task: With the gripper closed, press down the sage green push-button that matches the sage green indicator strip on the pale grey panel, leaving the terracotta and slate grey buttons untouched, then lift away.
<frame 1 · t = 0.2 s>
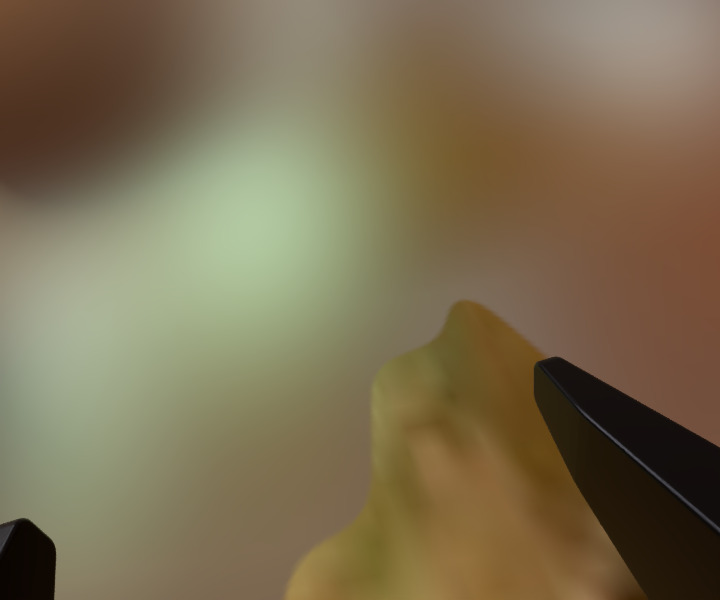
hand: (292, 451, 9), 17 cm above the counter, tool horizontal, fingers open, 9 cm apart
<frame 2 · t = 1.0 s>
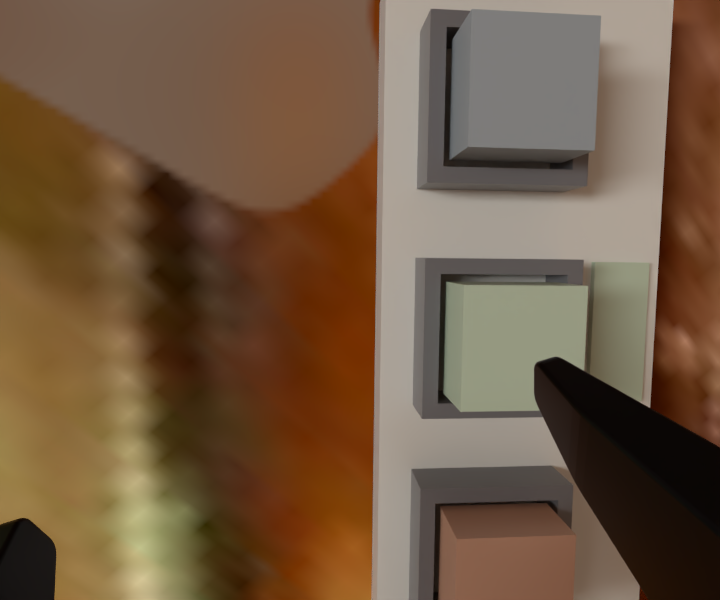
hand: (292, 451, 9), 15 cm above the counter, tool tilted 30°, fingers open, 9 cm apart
slate button: (520, 92, 19), point 5 cm above the counter, slide at 0.0 cm
sage button: (511, 342, 20), point 5 cm above the counter, slide at 0.0 cm
button panel: (504, 325, 25), on the counter
terracotta button: (502, 574, 20), point 5 cm above the counter, slide at 0.0 cm
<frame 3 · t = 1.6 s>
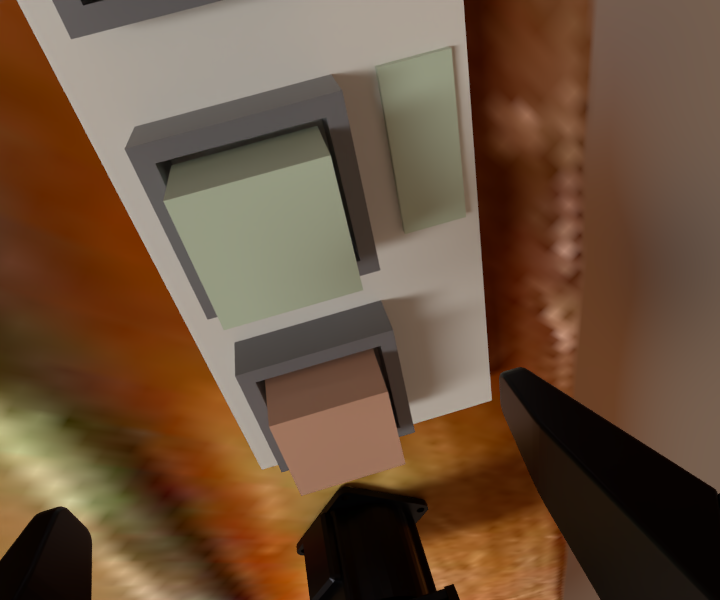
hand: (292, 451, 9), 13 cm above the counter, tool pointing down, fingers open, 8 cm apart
sage button: (269, 229, 16), point 5 cm above the counter, slide at 0.0 cm
button panel: (300, 158, 20), on the counter
terracotta button: (336, 422, 21), point 5 cm above the counter, slide at 0.0 cm
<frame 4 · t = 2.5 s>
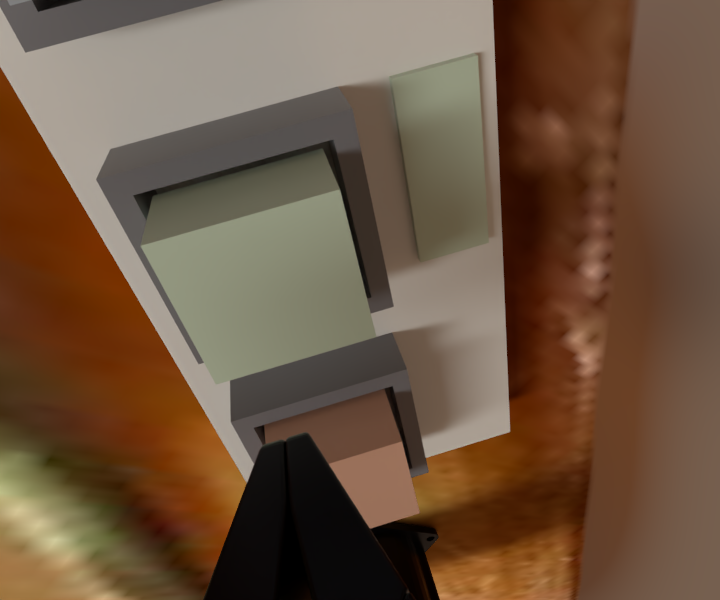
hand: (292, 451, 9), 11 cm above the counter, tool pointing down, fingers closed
sage button: (268, 268, 14), point 5 cm above the counter, slide at 0.0 cm
button panel: (301, 178, 18), on the counter
terracotta button: (343, 468, 19), point 5 cm above the counter, slide at 0.0 cm
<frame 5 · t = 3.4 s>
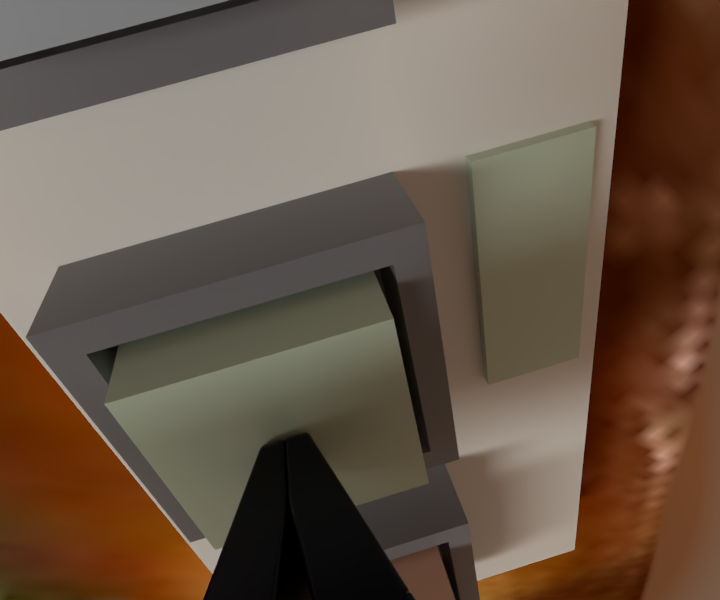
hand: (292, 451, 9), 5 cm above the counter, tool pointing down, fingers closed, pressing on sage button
sage button: (285, 397, 10), point 4 cm above the counter, slide at 1.2 cm, touching gripper
button panel: (330, 273, 13), on the counter
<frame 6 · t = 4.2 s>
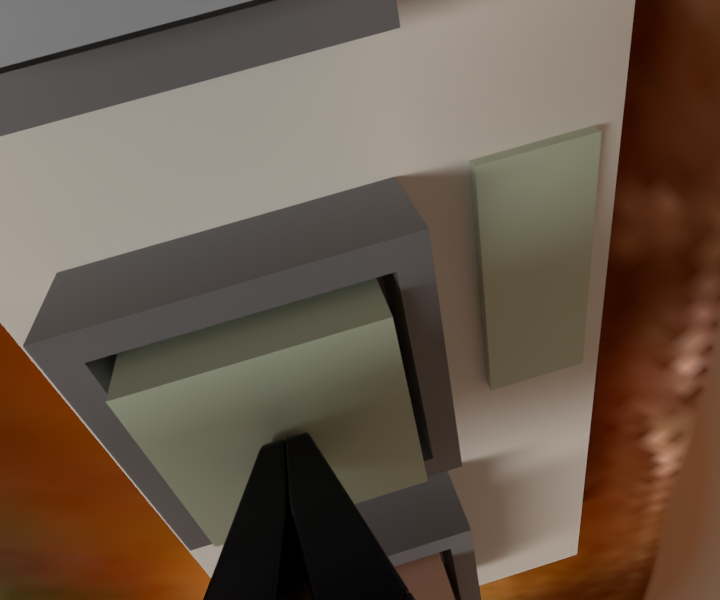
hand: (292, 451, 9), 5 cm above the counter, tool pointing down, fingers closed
sage button: (285, 395, 10), point 3 cm above the counter, slide at 1.4 cm
button panel: (331, 277, 13), on the counter
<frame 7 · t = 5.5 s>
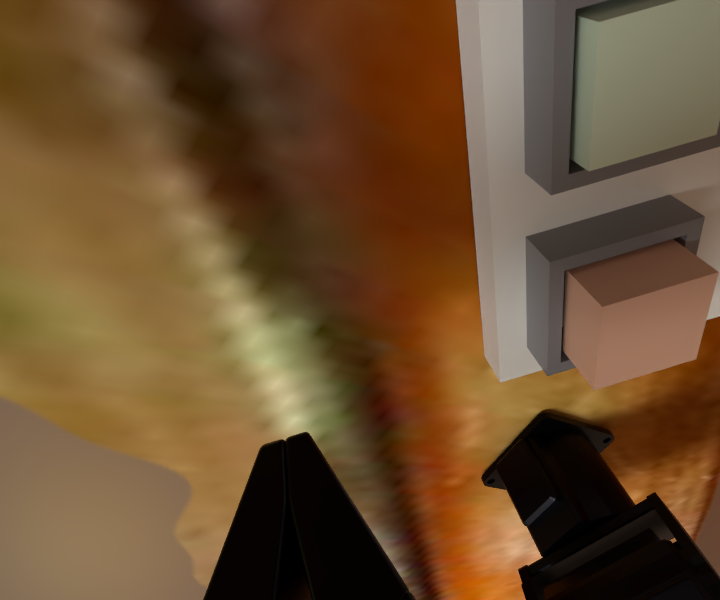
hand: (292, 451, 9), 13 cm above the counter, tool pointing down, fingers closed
sage button: (637, 73, 17), point 3 cm above the counter, slide at 1.4 cm
button panel: (617, 40, 20), on the counter
terracotta button: (632, 315, 21), point 5 cm above the counter, slide at 0.0 cm
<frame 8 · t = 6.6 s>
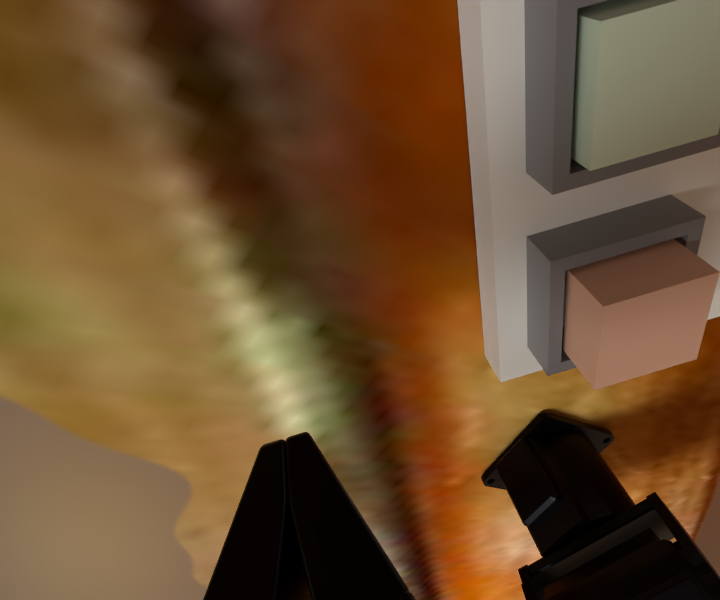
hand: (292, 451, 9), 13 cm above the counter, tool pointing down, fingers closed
sage button: (638, 73, 17), point 3 cm above the counter, slide at 1.4 cm
button panel: (619, 40, 20), on the counter
terracotta button: (633, 315, 21), point 5 cm above the counter, slide at 0.0 cm
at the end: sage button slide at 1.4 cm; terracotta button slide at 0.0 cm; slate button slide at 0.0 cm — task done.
